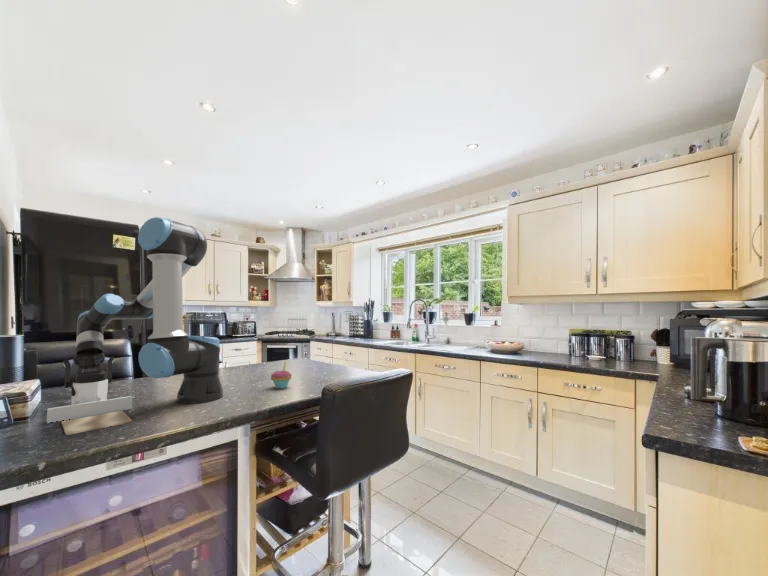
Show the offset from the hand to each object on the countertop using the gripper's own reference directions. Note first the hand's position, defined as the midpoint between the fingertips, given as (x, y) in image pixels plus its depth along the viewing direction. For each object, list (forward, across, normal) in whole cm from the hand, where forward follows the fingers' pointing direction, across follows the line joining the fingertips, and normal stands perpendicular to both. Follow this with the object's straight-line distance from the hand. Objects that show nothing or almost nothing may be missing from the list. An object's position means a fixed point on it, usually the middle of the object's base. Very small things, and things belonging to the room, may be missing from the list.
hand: (88, 401), depth 107 cm
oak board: (+13, -2, +9) cm, 16 cm away
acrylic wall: (+6, -1, +1) cm, 6 cm away
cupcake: (+9, -62, +5) cm, 62 cm away
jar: (0, 0, -5) cm, 5 cm away
